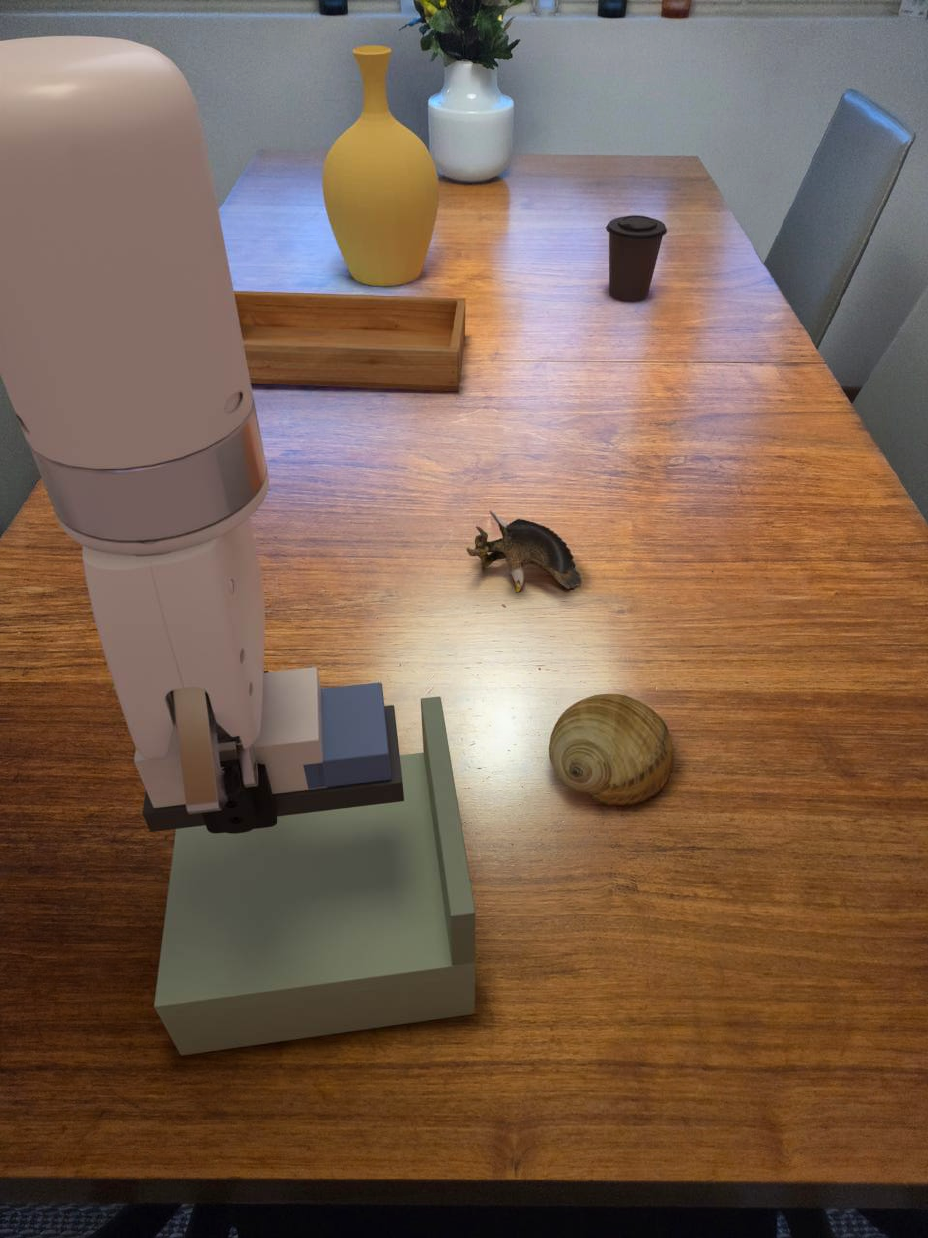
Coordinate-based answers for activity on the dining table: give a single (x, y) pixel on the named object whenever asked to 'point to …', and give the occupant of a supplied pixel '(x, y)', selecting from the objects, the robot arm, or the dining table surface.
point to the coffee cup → (633, 255)
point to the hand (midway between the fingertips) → (246, 773)
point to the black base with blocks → (299, 752)
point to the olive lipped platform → (323, 918)
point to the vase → (380, 187)
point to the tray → (352, 339)
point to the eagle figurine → (527, 551)
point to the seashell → (612, 749)
